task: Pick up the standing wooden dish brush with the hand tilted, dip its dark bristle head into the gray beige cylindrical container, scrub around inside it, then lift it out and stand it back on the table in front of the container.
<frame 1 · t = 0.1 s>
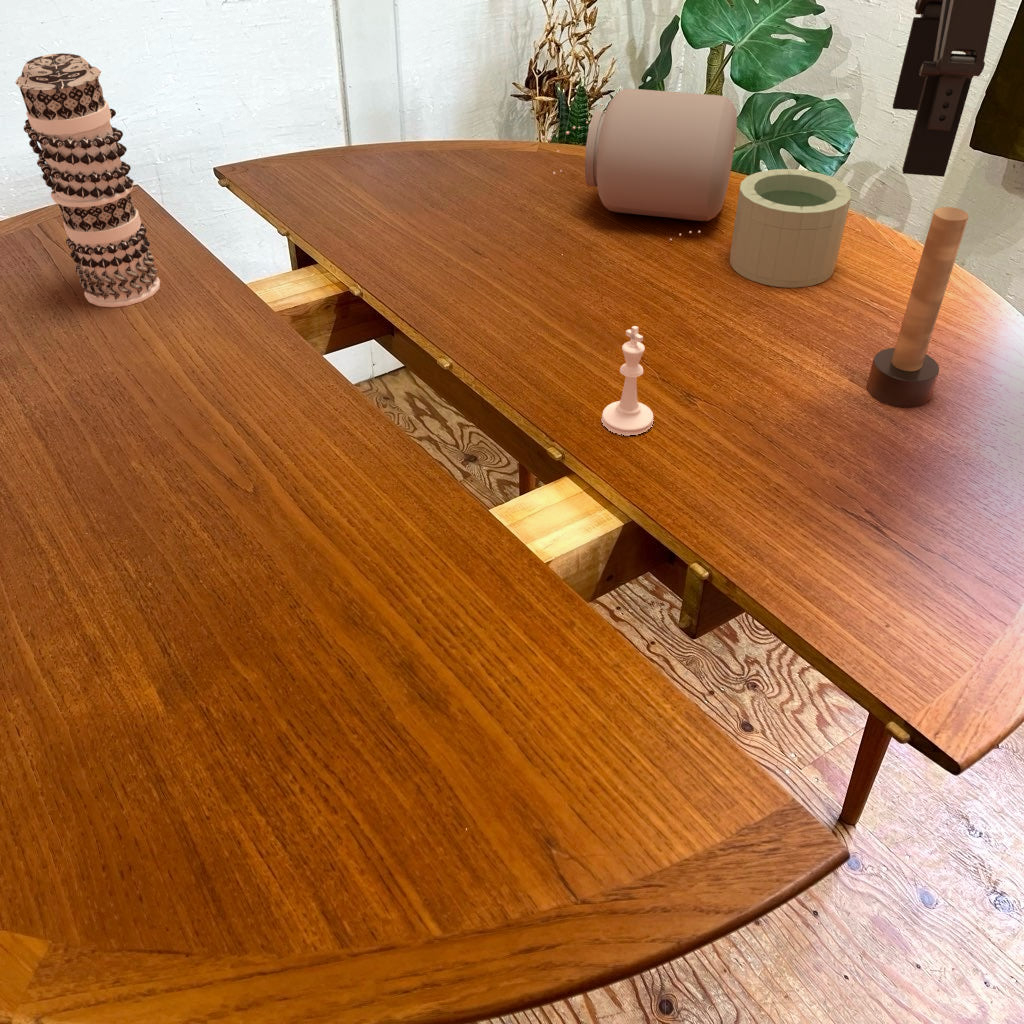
hand: (916, 139, 71), 27 cm above the table, tool pointing down, fingers open, 13 cm apart
jar: (627, 215, 126), on the table
gray beige cylindrical container: (781, 263, 114), on the table
chess piece: (627, 422, 91), on the table
decorative candle: (123, 290, 112), on the table
brush: (898, 390, 94), on the table
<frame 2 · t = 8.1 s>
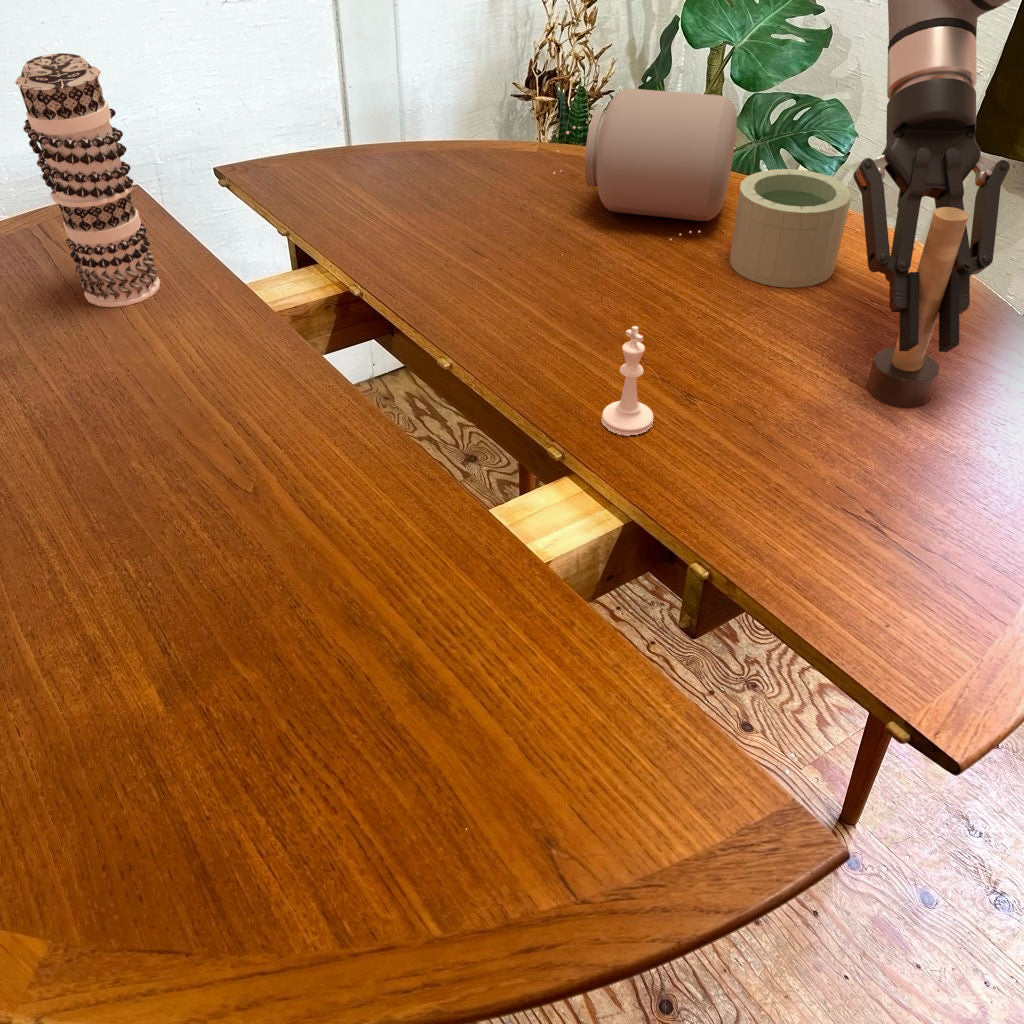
hand: (928, 347, 86), 7 cm above the table, tool tilted 45°, fingers closed on brush, 3 cm apart
brush: (898, 390, 94), on the table, touching gripper
everything else where it was.
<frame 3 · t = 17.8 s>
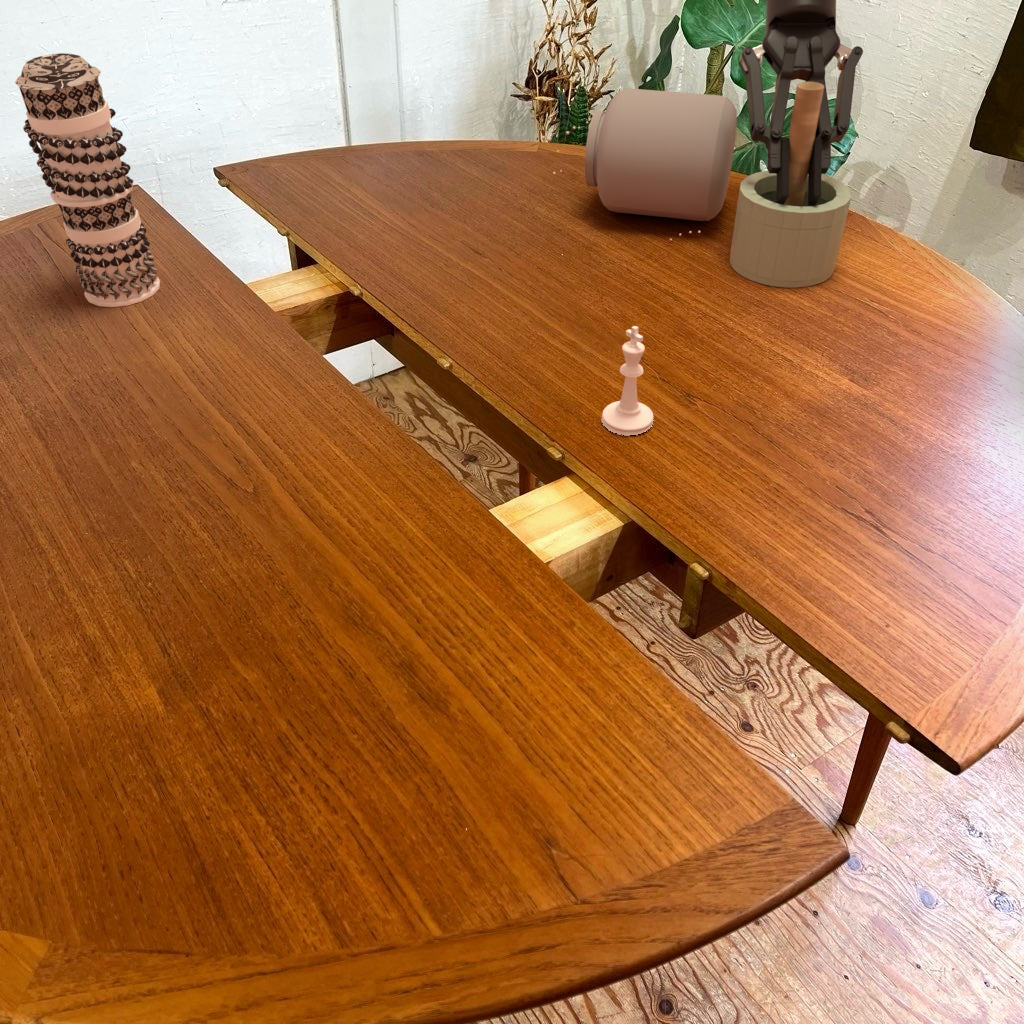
hand: (798, 200, 105), 9 cm above the table, tool tilted 45°, fingers closed on brush, 3 cm apart
brush: (782, 245, 113), point 2 cm above the table, touching gripper
everything else where it was.
when the fingers open (8 cm above the table, at t = 29.6 s): brush stays where it is, on the table.
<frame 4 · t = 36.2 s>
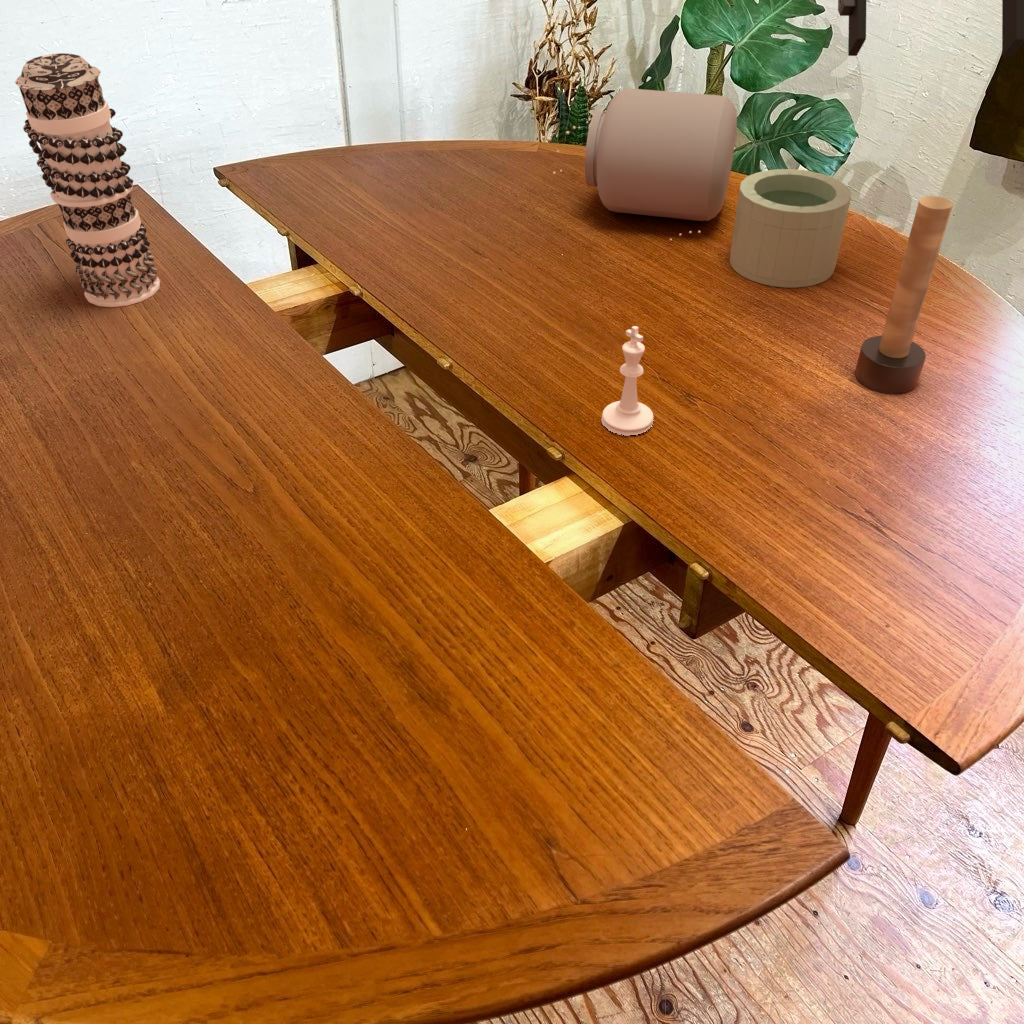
hand: (934, 48, 85), 28 cm above the table, tool tilted 45°, fingers open, 13 cm apart
brush: (886, 377, 95), on the table
everything else where it was.
at the end: brush inside the target area on the table beside the gray beige cylindrical container (0.1 cm from its centre), on the table; brush tilted 0°; the gripper is holding nothing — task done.
